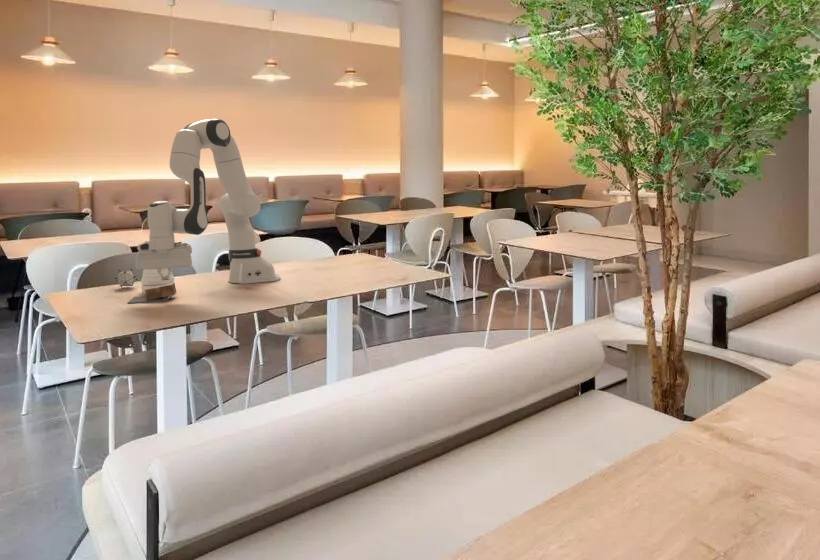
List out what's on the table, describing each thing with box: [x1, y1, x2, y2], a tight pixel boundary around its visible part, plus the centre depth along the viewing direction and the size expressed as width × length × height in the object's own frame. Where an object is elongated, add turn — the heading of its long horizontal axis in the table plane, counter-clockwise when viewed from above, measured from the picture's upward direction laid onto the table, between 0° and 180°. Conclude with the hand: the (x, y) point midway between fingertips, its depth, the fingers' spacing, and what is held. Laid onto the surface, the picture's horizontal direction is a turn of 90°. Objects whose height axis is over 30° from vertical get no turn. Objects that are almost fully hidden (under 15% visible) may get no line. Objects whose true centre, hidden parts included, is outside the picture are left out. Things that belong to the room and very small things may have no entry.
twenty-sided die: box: [114, 268, 138, 288], centre depth 272 cm, size 9×8×10 cm
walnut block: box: [145, 283, 177, 300], centre depth 245 cm, size 4×6×10 cm
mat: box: [127, 295, 164, 305], centre depth 244 cm, size 12×12×1 cm
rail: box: [162, 296, 172, 303], centre depth 246 cm, size 1×14×1 cm, turn 12°
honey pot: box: [140, 268, 176, 294], centre depth 261 cm, size 13×13×18 cm
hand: (165, 279), depth 244 cm, fingers closed
